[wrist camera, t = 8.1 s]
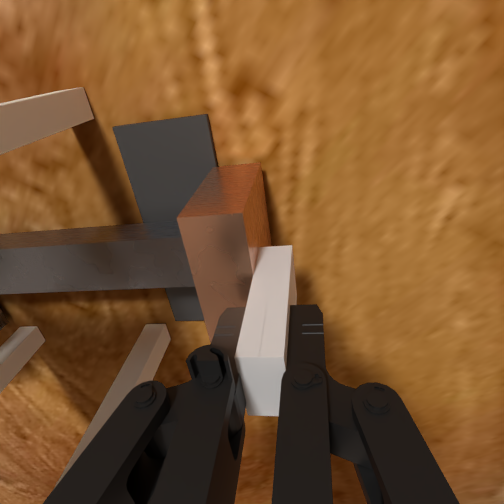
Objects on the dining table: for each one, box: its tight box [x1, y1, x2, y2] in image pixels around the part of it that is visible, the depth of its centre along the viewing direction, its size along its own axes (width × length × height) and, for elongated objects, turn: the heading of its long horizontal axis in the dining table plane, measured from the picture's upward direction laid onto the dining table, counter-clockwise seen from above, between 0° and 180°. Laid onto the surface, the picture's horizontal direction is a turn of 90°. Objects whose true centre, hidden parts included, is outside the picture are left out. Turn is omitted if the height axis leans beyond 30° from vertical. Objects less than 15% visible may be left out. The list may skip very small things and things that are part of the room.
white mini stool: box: [0, 87, 218, 490], centre depth 16 cm, size 17×18×16 cm
